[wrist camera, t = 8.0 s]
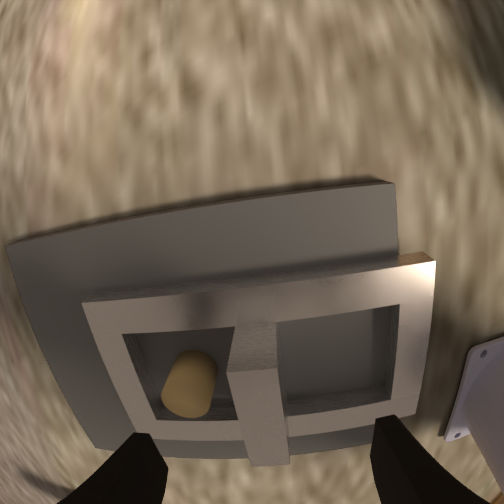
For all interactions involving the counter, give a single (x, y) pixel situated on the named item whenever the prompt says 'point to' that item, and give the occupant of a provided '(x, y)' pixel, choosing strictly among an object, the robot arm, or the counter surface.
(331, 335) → the plate
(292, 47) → the counter surface
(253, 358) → the double window frame
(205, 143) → the counter surface
